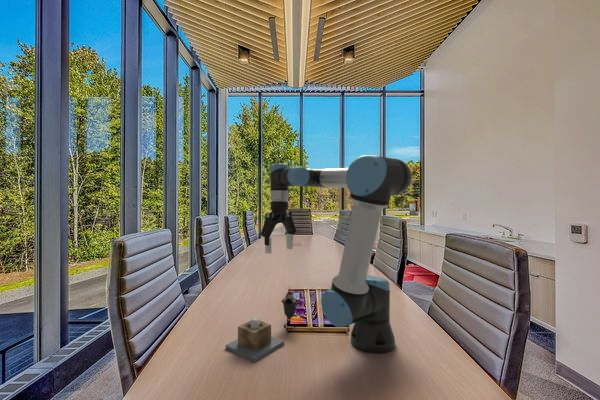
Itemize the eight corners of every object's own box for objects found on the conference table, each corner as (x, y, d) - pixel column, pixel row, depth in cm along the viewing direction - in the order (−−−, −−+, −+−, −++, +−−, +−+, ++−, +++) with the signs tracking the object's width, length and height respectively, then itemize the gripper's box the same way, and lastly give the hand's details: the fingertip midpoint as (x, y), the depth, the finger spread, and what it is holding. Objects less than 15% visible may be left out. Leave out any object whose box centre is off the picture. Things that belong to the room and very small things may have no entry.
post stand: (283, 344, 103) (283, 318, 103) (254, 362, 92) (254, 332, 92) (255, 333, 111) (255, 309, 111) (225, 348, 100) (225, 321, 100)
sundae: (290, 321, 123) (290, 285, 123) (301, 326, 118) (301, 288, 118) (277, 325, 118) (277, 288, 118) (289, 331, 113) (289, 292, 113)
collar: (271, 341, 102) (271, 324, 102) (254, 351, 96) (254, 332, 96) (255, 335, 107) (254, 318, 107) (237, 344, 101) (237, 326, 101)
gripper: (291, 200, 138) (291, 246, 138) (251, 200, 118) (251, 254, 118) (304, 200, 133) (304, 247, 133) (265, 200, 113) (265, 256, 113)
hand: (279, 251), depth 125 cm, fingers open, 13 cm apart
